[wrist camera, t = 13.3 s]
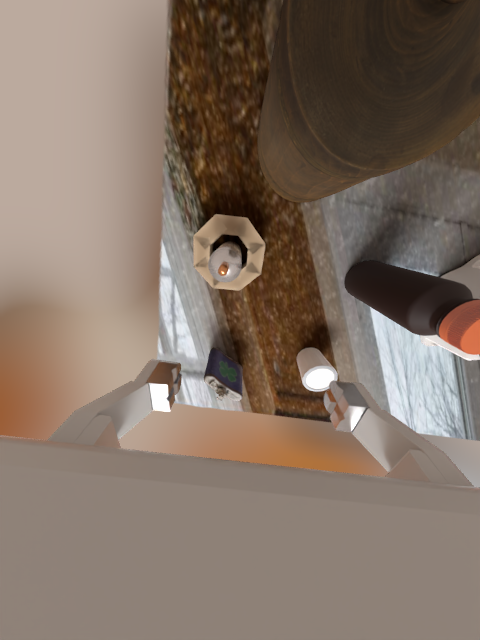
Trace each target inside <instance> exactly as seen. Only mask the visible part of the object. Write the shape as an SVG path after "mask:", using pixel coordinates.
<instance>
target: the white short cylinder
mask: <svg viewBox="0 0 480 640" xmlns="http://www.w3.org/2000/svg"><path fill="white" fill-rule="evenodd" d="M297 363H298V367H299V371H300V375H301V378H302V382H303V385H304V386H305V388H307V389H309V390H310V391H324V390H326V389H329V384H330V382H331V381H337V375H338V374H337V372H336V371H335V369H334V368H333V367H332V365H331V364H330V363H329V362H328V361H327V359H326V358H325V357H324V356H323V355H322V353H321V352H320V351H319V350H318V349H316V348H312V347H310V348H305V349H303V350H301V351H300V352H299V353H298V355H297Z"/></svg>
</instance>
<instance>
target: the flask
mask: <svg viewBox="0 0 480 640" xmlns="http://www.w3.org/2000/svg"><path fill="white" fill-rule="evenodd" d="M242 369H243V368H242V366H241V365H240V364H239V363H236V362H235V361H234V360H233V359H232V358H230V357H227V356H226V354H223V352H222V351H220V350H219V349H218V348H213V349H212V350H211V351H210V354H209V359H208V363H207V368H206V371H205V376H204V381H205V383H206V384H208V385H209V386H210V387H211V388H212V389H213V390H215V392H216V393H217V394H219V397H220V398H221V399H223V398H224V397H227V398H229V399H231V400H234V401H239V400H241V399H242ZM217 400H220V399H219V398H218V397H217ZM221 401H222V400H221Z"/></svg>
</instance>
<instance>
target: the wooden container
mask: <svg viewBox="0 0 480 640" xmlns="http://www.w3.org/2000/svg"><path fill="white" fill-rule="evenodd" d="M479 116H480V0H283V5H282V11H281V17H280V23H279V28H278V33H277V37H276V42H275V46H274V51H273V56H272V61H271V65H270V70H269V74H268V79H267V84H266V89H265V94H264V99H263V105H262V111H261V117H260V123H259V129H258V156H259V162H260V166H261V169H262V172H263V174H264V176H265V178H266V180H267V182H268V184H269V185H270V186H271V188H272V189H273V190H274V191H275V192H276V193H277V194H279V195H280V196H281V197H283V198H285V199H287V200H290V201H293V202H311V201H315V200H318V199H321V198H324V197H327V196H330V195H332V194H335V193H338V192H340V191H342V190H345V189H347V188H349V187H351V186H354V185H356V184H358V183H360V182H363V181H365V180H367V179H370V178H372V177H377V176H380V175H384V174H387V173H390V172H392V171H395V170H398V169H400V168H403V167H405V166H408V165H410V164H412V163H414V162H416V161H419V160H421V159H423V158H425V157H427V156H428V155H430V154H432V153H434V152H435V151H437V150H439V149H440V148H442V147H443V146H445V145H446V144H448V143H449V142H451V141H452V140H453V139H454V138H456V137H457V136H458V135H459V134H460V133H461V132H462V131H463V130H465V129H466V128H468V127H469V126H470V125H471V124H472V123H473V122H474V121H475V120H476V119H477V118H478V117H479Z"/></svg>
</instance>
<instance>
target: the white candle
mask: <svg viewBox="0 0 480 640" xmlns="http://www.w3.org/2000/svg"><path fill="white" fill-rule="evenodd" d="M208 268H209V271H210V273H211V275H212V276H213V277H214V278H215V279H216V280H218V281H220V282H231V281H233V280H235V279H236V278H237V277H238V276H239V274H240V272H241V268H242V252H241V248H240V246H239V245H238V244H237V243H236V242H233V241H227V242H225V243H223V244H222V245H221V246H220V247H219V248H218V249H217V250H215V251H214V252H213V253H212V255H211V256H210V258H209V261H208Z"/></svg>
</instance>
